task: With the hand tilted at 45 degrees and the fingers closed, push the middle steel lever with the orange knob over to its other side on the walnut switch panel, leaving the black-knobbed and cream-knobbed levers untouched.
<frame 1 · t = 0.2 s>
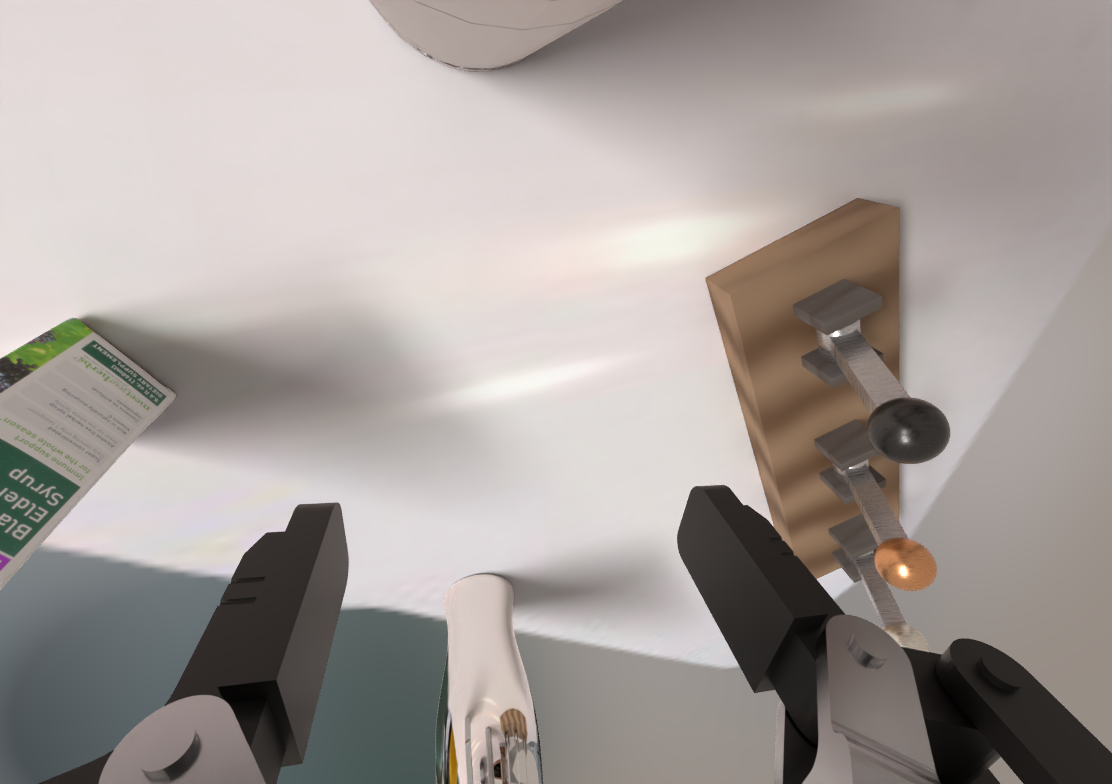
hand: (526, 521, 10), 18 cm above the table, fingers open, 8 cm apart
cream lever: (880, 594, 37), point 8 cm above the table, hinge at -18.0°
switch panel: (810, 427, 37), on the table
orange lever: (876, 510, 30), point 8 cm above the table, hinge at -18.0°
syrup box: (92, 382, 24), on the table
black lever: (869, 378, 24), point 8 cm above the table, hinge at -18.0°
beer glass: (478, 593, 40), on the table
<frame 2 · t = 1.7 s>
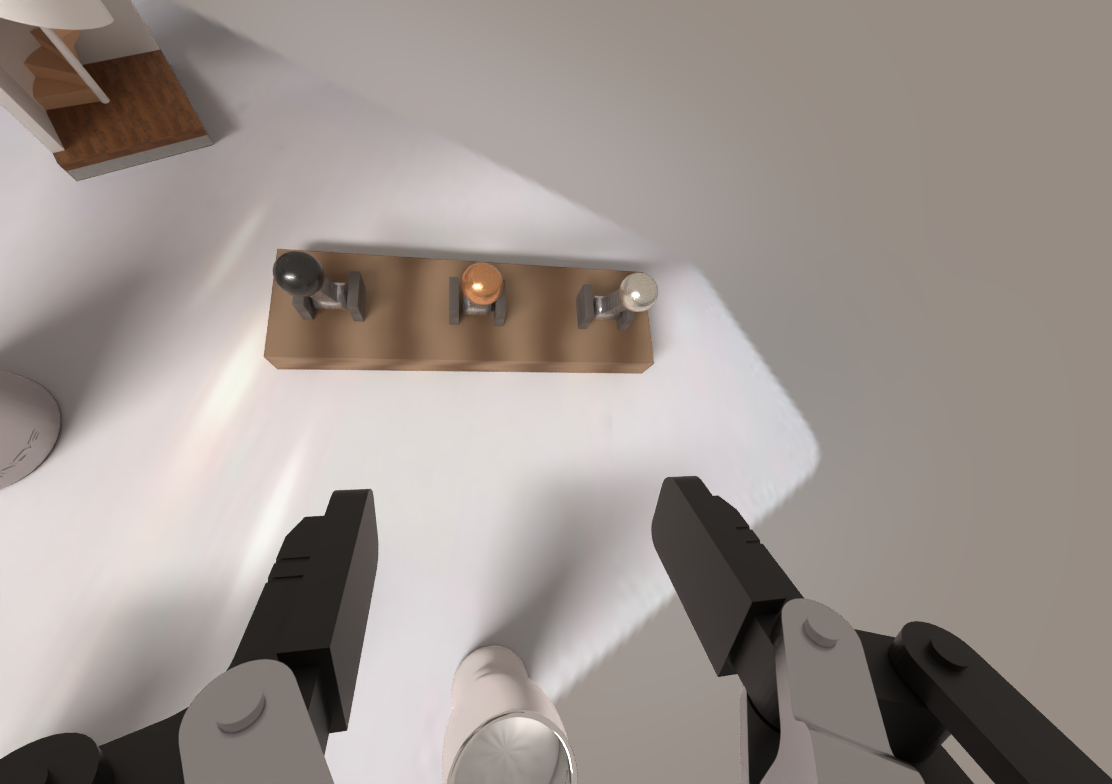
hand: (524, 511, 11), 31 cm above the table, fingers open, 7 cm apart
cream lever: (620, 300, 39), point 8 cm above the table, hinge at -18.0°
switch panel: (474, 323, 45), on the table
orange lever: (479, 293, 36), point 8 cm above the table, hinge at -18.0°
black lever: (316, 285, 34), point 8 cm above the table, hinge at -18.0°
display case: (126, 120, 43), on the table
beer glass: (490, 686, 36), on the table
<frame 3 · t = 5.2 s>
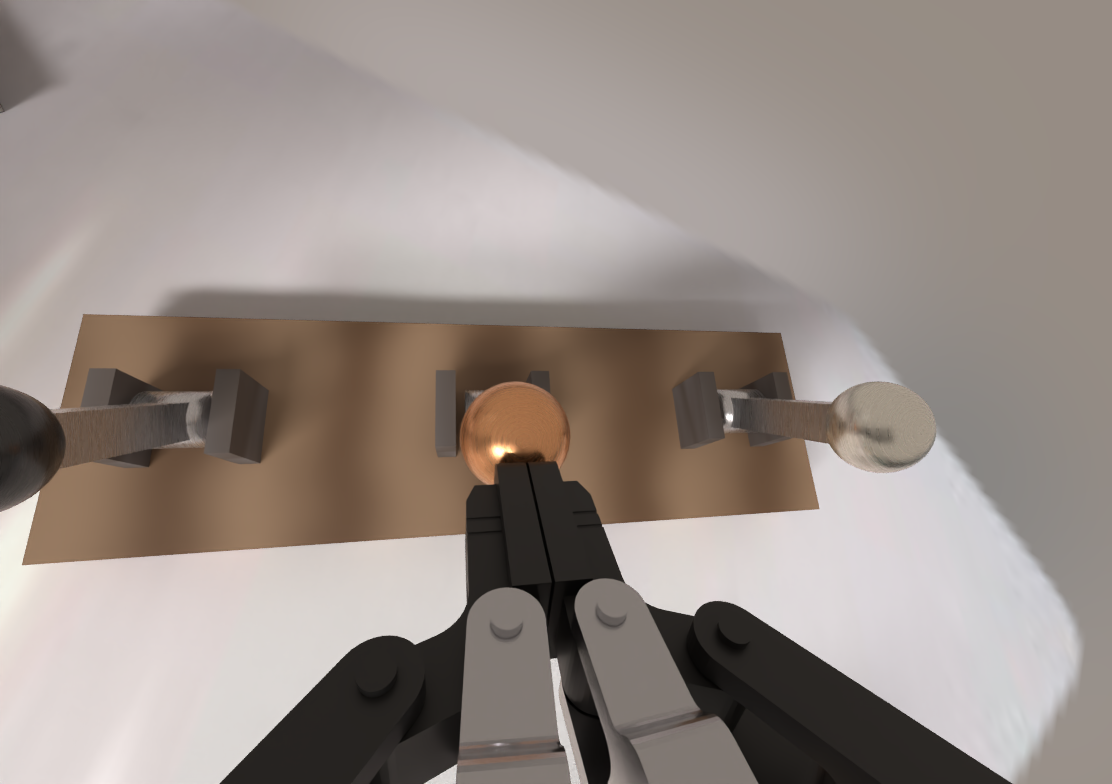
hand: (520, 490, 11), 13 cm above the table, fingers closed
cream lever: (793, 417, 19), point 8 cm above the table, hinge at -18.0°
switch panel: (486, 434, 24), on the table
orange lever: (501, 423, 16), point 8 cm above the table, hinge at -18.0°, touching gripper
black lever: (98, 431, 14), point 8 cm above the table, hinge at -18.0°
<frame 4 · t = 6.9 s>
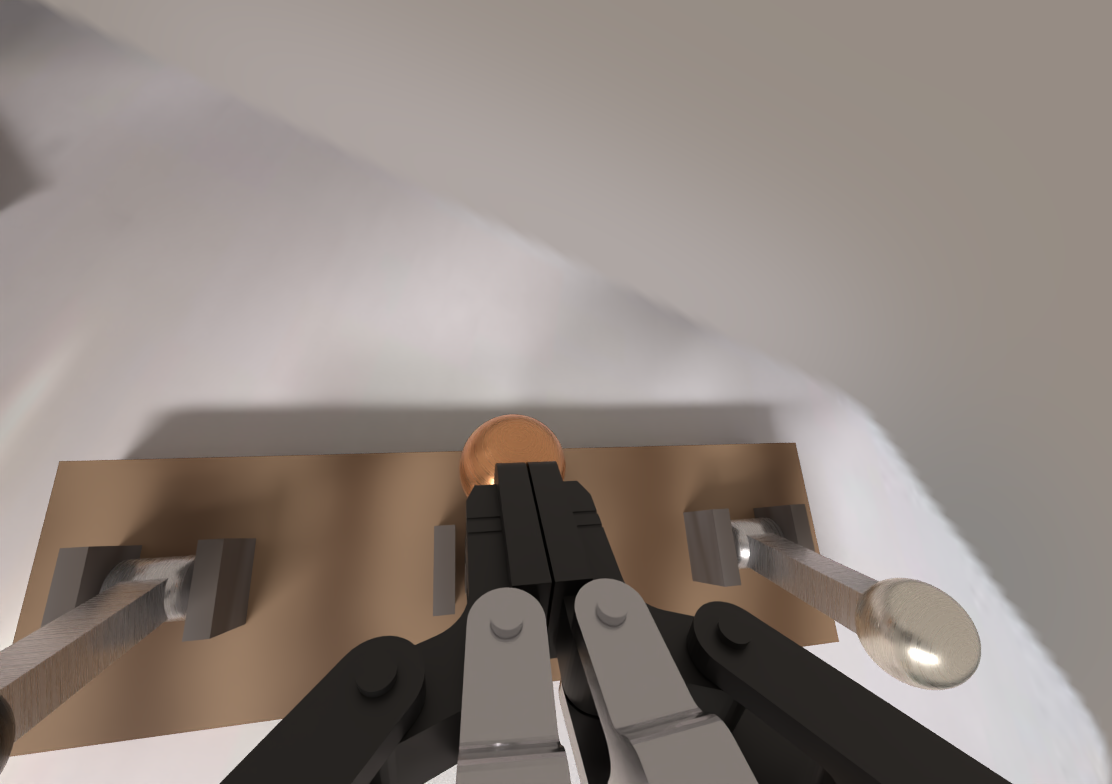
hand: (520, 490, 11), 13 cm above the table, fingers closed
cream lever: (816, 579, 18), point 8 cm above the table, hinge at -18.0°
switch panel: (487, 558, 23), on the table
orange lever: (502, 521, 16), point 8 cm above the table, hinge at 21.5°, touching gripper
black lever: (62, 656, 12), point 8 cm above the table, hinge at -18.0°
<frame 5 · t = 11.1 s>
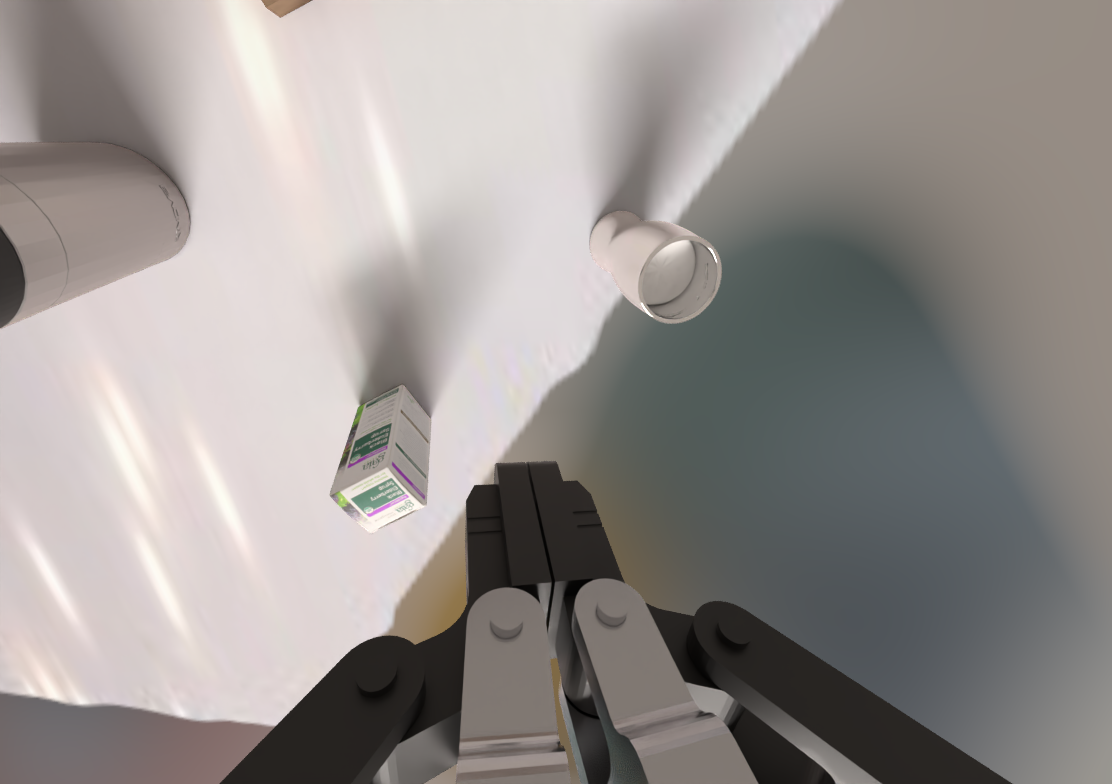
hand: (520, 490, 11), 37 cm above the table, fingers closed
syrup box: (397, 412, 51), on the table
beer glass: (617, 241, 46), on the table
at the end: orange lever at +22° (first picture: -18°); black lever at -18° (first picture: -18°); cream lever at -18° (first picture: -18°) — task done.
